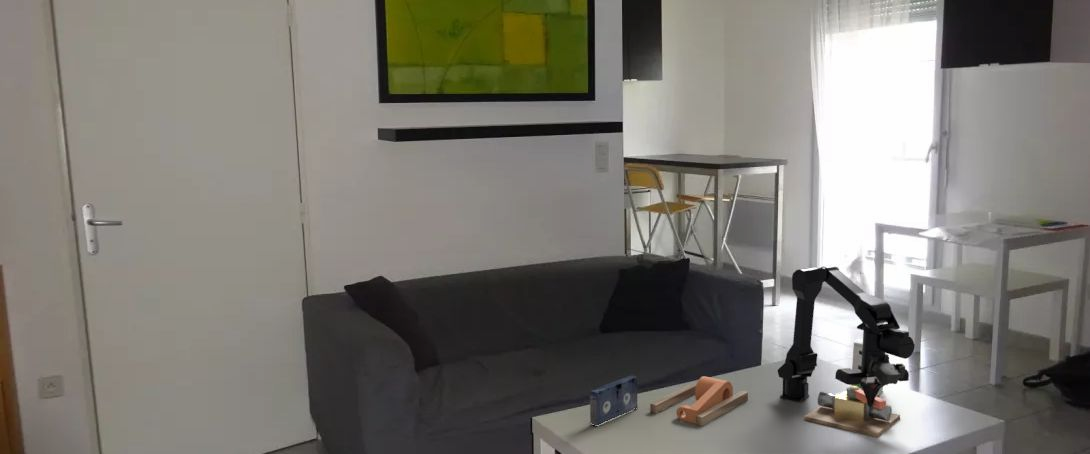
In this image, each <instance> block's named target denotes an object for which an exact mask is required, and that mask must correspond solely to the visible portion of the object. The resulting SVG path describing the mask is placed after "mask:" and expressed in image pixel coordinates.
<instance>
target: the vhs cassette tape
mask: <svg viewBox="0 0 1090 454" xmlns="http://www.w3.org/2000/svg"><path fill="white" fill-rule="evenodd" d="M634 408H635V409H636V408H637V409H638V376H635V375H632V374H631V375H629V376H626V377H623V378H620V379H617V380H615V381H613V382H610V383H607V384H604V385H602V386H601V387H597V388H595V389H591V390H589V409H590V411H589V414H590V416H589V418H590V421H589V422H590V424H591V423H592V424H594V425H599V424H601V423H603V422H605V421H608V420H610V419H612V418H615V417H617V416H619V415H622V414H624V413H627V412H629V411H631V410H633V409H634Z"/></svg>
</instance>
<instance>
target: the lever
mask: <svg viewBox="0 0 1090 454" xmlns="http://www.w3.org/2000/svg"><path fill="white" fill-rule="evenodd" d="M846 391H847V394H846V396H847V397H849V398H854V399H859V400H861V401H863V402H865V403H867V399H866V396H865V394H864V391H863V390H862V389H861V388H859V387H857V386H851V385H850V386H848V387H846ZM886 405H887V400H885V399H882V398H881V397H879V396H878V397H877V396H876V398H875V400H874V402H873V406H874V407H876V408H878V409H883V408H886Z"/></svg>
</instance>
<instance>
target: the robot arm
mask: <svg viewBox="0 0 1090 454" xmlns="http://www.w3.org/2000/svg"><path fill="white" fill-rule="evenodd" d="M824 282H825V283H826V284H827V285H829V287H831V288H832V289H833V290H834V291H835V292H836V293H838V294H839V295H840V296H841V297H842V298H843V299H845V301H847V302H848V303H849V304H850V305H851V306H852V307H853V309H854V313H855V315H856V316H857V317H858V319H859V320H860V321H861V323H859V324H858V325H857V326H856V329H858V330H861V331H863V332H862V333H863V334H862V338H863V345H862V350H859V354H860V355H862V361H861V365H858V369H859V370H861V372H857V371H855V370H853V369H852V368H850V367H847V368H837V370H836V371H835V377H834V379H836V380H837V381H839V382H841V383H843V384H845V385H850V386H851V385H856V384H859V383H860V385H861V387H862V389H863V391H864V394H865V396H866V399H867V405H868V406H869V407H872V406H873V402H874V400H875V398H876V397H877V396H876V395H877V393H878V392H879V390H880V388H882V387H883V388H884V387H885V386H888V385H890V384H891V385H892V384H893V385H896V384H898V381H899V382H909V380H910V379H909V378H910V373H909V371H908V370H907V368H906V366H905V365H904V364H903V363H896V364H895V363H890V357H889V355H891V356H894V357H898V358H901V359H909V358H910V357H911V356H912V355H913V353H914V351H915V343H914V342H915V341H914V340H913V338H912V337H911V336H910V332H909V331H907V330H900V328H901V326H900V324H899V323H898V321H897V319H896V316H895V315H894V312H893V311H892V307H891V305H890V304H889V303H888V302H887V301H885V300H883V299H881V298H880V297H878V296H875V295H872V294H869V293H867V292H866V291H864V290H863V289H862V288H861V287H859V286H858V285H857V284H856V283H855V282H853V281H852V280H851V279H850V278H849V277H848V276H847V275H845V274H844V273H843V272H842V271H840V268H839V267H838V266H836V265H832V264H831V265H824V266H821V267H819V268H818V267H809V268H808V267H807V268H802V269H796V270H795V271H794V272H793V273H792V276H791V283H792V284H791V285H792V291H793V293H794V295H795V296H796V305H795V306H796V307H795V318H794V329H793V340H792V345H791V346H790V348H789V350H787V352H786V355H785V361H784V363H783V364H782V365H781V366H780V367H779V368H778V369H777V373H778V378H781V379H782V394H781V393H780V395H779V397H780V398H783V399H786V400H787V399H788V400H792V401H795V402H802V401H803V400H804V399H807V398H809V397H810V394H809V382H808V378H809V377H810V378H811V377H812V375H813V372H814V371H815V370H816V367H818V363H817V360H818V356H819V355H818V353H817V352H814V350H813V347H812V346H811V345H812V334H813V333H812V332H813V326H814V325H813V323H814V315H815V301H816V299H817V297H818V295H819V293H821V291H822V287H823V284H824Z"/></svg>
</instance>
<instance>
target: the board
mask: <svg viewBox="0 0 1090 454" xmlns="http://www.w3.org/2000/svg"><path fill="white" fill-rule="evenodd" d="M832 410H833V409H832V408H828V407H823V406H819V405H818V407H816V408H815V409H813V410H811V411H810V412H808V413H806V415H804V417H803V419H804V421H808V422H812V423H816V424H821V425H825V426H830V427H834V428H838V429H841V430H846V431H850V432H854V433H858V434H863V435H867V436H870V437H875V438H879V437H880V436H881V435H882V434H883V433H885V432H886V431H887V430H888V429H889V428H891V427H892V426H893V425H894V424H895V423H897V422H898V421H899V420H900V419H901V414H899V413H898V414H897V413H893V412H892V413H891V418H890V420H889V421H885V420H881V419H877V418H872V419H870V420H869V421H867V420H865V421H859V420H854V419H850V418H846V417H841V416H837V415H834V413H832Z"/></svg>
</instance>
